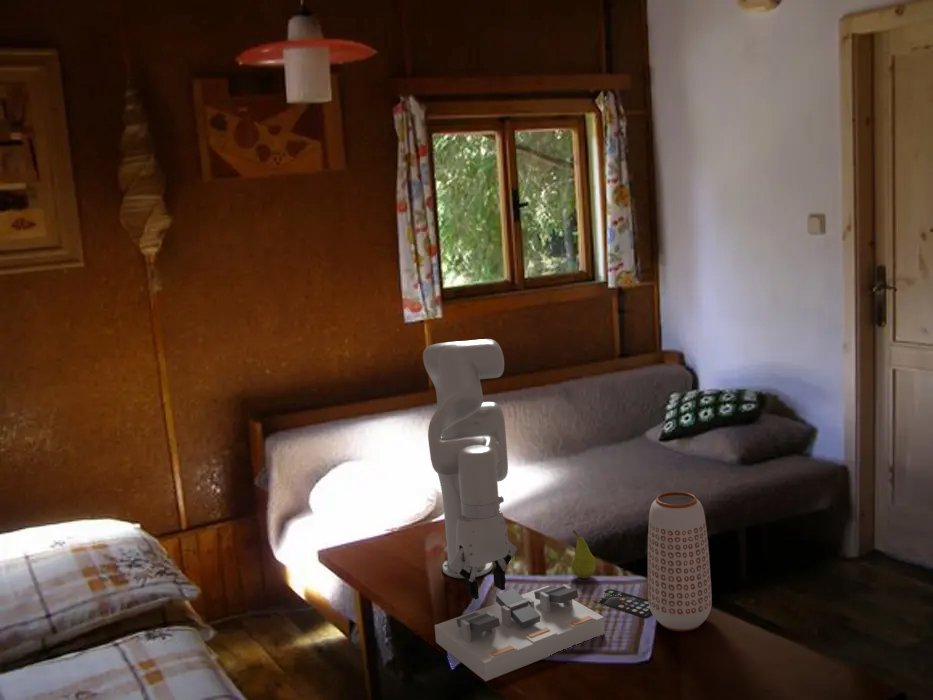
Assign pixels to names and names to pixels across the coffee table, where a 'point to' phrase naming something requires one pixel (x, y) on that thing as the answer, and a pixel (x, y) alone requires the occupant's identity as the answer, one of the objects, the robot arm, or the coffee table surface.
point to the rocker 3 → (557, 594)
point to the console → (519, 635)
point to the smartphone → (626, 603)
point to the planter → (678, 562)
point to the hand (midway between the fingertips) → (486, 591)
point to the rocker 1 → (480, 622)
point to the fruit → (583, 559)
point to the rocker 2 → (518, 608)
